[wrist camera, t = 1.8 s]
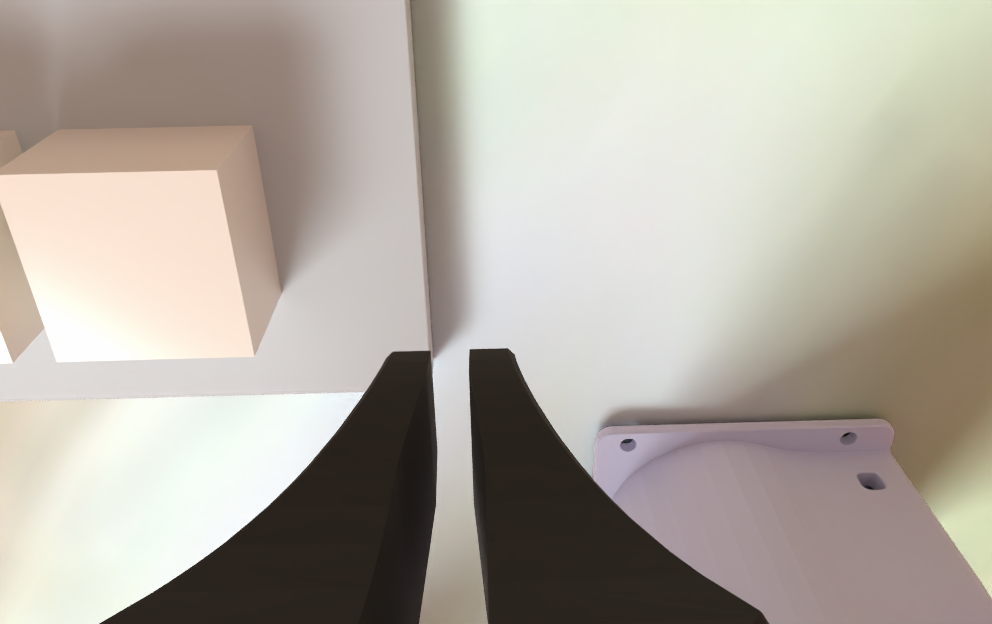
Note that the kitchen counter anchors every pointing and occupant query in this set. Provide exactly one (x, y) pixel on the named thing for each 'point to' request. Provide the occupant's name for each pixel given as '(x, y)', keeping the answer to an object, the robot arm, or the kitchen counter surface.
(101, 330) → the tile
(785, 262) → the kitchen counter surface
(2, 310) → the tile
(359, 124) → the grey board
